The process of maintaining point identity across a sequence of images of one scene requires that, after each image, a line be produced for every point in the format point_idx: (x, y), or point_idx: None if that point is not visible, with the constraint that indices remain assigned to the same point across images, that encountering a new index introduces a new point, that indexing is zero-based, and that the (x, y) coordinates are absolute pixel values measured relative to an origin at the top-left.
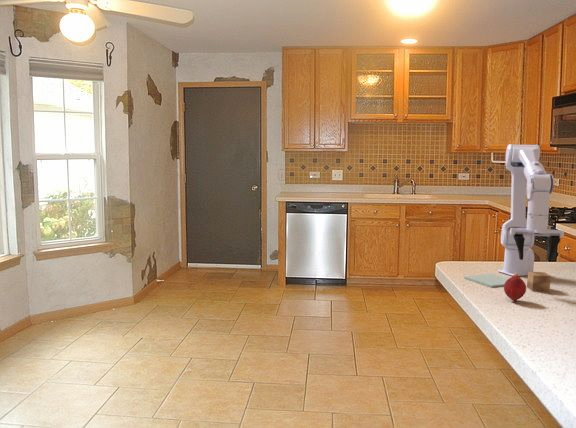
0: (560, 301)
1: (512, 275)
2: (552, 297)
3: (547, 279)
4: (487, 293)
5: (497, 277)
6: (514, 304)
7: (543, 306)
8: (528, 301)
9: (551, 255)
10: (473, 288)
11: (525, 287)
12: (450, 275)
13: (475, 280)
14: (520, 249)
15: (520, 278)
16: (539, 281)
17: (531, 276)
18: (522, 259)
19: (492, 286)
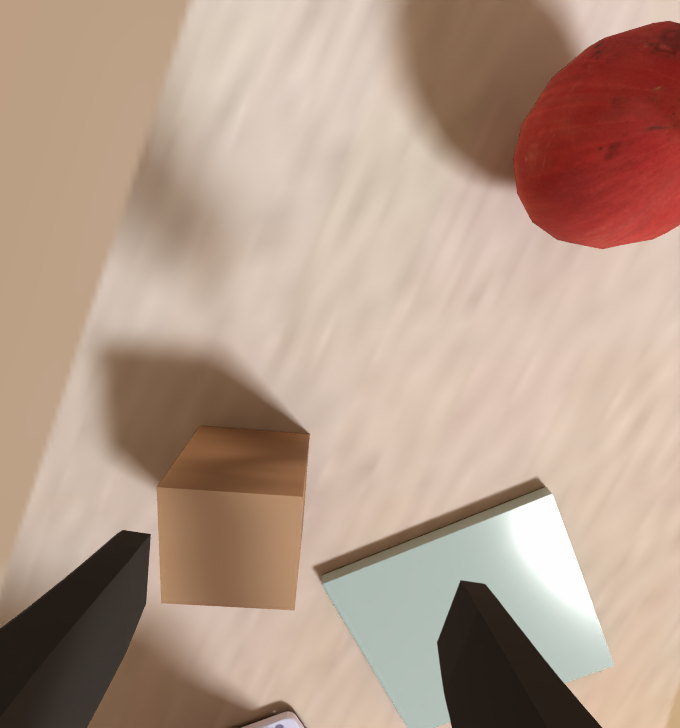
0: (210, 190)
1: (299, 722)
2: (229, 292)
3: (192, 472)
4: (643, 350)
5: (419, 666)
6: None
7: (398, 29)
8: (451, 167)
9: (66, 586)
10: (671, 456)
11: (573, 67)
12: (655, 699)
13: (589, 596)
14: (588, 723)
15: (662, 94)
16: (257, 465)
17: (301, 522)
18: (468, 582)
19: (537, 494)
